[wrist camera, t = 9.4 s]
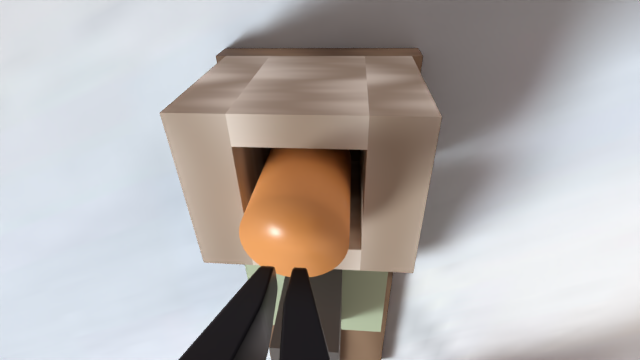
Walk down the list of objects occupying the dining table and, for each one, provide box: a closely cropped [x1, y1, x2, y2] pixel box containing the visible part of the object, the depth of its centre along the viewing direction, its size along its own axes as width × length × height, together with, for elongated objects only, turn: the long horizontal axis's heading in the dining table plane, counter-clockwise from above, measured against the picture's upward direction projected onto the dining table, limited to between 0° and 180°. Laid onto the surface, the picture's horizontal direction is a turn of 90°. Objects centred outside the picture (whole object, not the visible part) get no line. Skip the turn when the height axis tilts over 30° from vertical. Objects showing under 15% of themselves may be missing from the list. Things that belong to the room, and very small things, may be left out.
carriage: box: [245, 265, 388, 360], centre depth 20 cm, size 8×7×7 cm
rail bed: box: [160, 48, 442, 360], centre depth 23 cm, size 10×29×8 cm, turn 1°
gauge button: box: [239, 148, 351, 277], centre depth 13 cm, size 4×4×5 cm
